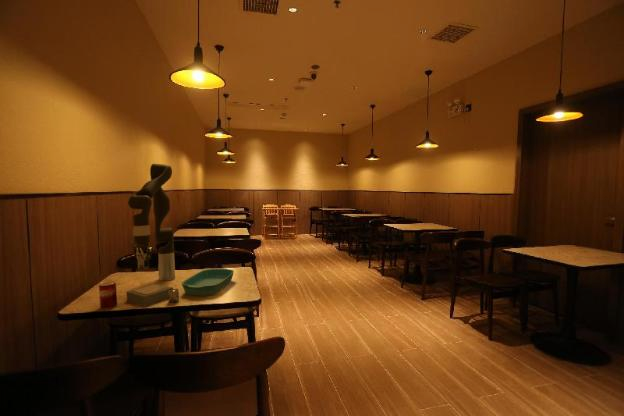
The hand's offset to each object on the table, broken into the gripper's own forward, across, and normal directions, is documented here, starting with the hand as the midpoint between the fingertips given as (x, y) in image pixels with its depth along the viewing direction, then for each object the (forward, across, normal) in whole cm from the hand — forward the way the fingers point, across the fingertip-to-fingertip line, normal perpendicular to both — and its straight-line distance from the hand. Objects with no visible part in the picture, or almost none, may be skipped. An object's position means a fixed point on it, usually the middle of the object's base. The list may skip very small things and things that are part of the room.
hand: (143, 266), depth 165 cm
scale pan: (+15, 0, +3) cm, 15 cm away
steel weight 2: (+18, +15, +6) cm, 24 cm away
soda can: (+19, -8, -14) cm, 25 cm away
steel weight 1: (+1, 0, 0) cm, 1 cm away
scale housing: (+18, 0, +3) cm, 19 cm away
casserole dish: (+19, +14, +31) cm, 39 cm away
